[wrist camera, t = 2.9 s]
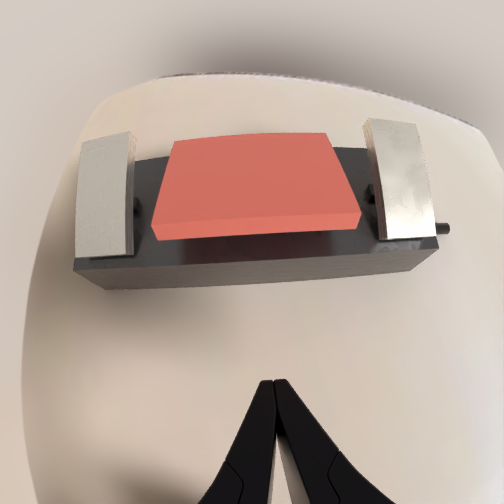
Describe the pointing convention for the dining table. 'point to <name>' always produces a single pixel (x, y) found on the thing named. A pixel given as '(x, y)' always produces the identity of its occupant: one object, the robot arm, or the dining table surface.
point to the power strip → (253, 245)
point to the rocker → (253, 187)
